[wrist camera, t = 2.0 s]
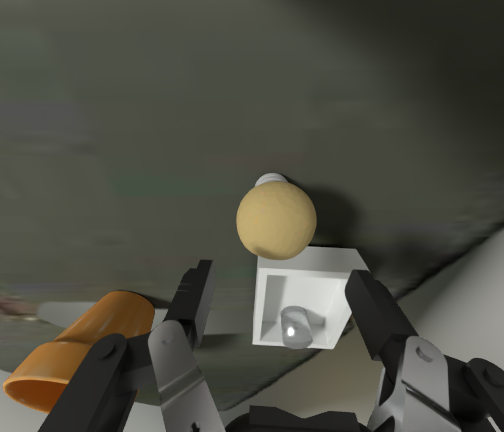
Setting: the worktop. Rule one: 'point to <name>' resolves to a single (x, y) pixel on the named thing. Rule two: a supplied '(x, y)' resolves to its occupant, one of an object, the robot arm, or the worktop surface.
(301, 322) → the grey rounded piece
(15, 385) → the flower pot
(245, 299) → the worktop surface
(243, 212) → the amber frosted bulb
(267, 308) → the tray
